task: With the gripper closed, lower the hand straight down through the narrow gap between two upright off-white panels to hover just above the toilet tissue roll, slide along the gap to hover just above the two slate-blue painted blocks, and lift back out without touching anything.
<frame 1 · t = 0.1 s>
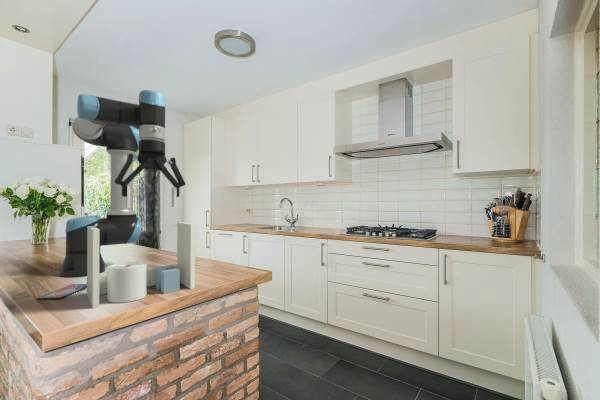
hand: (151, 207, 95), 28 cm above the worktop, tool pointing down, fingers open, 13 cm apart
paddle block a: (165, 287, 103), on the worktop
smartphone: (66, 293, 98), on the worktop
toilet tissue: (127, 297, 93), on the worktop
panel frame: (143, 292, 98), on the worktop
paddle block b: (170, 291, 99), on the worktop
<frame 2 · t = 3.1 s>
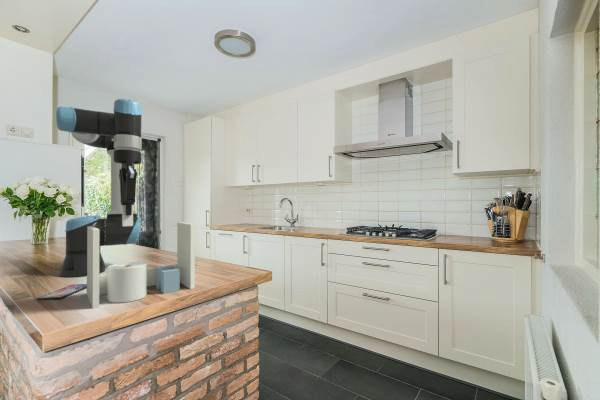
hand: (127, 225, 93), 22 cm above the worktop, tool pointing down, fingers closed
nothing on the worktop moved.
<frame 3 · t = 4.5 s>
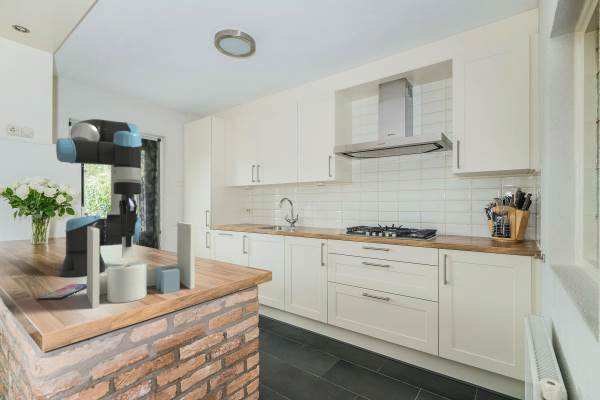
hand: (127, 257, 93), 12 cm above the worktop, tool pointing down, fingers closed
nothing on the worktop moved.
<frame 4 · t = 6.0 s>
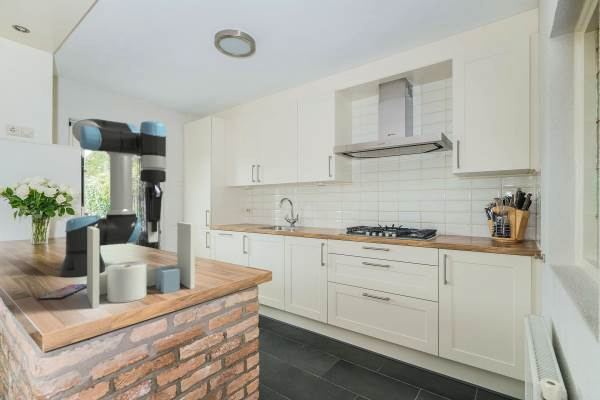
hand: (153, 241, 98), 17 cm above the worktop, tool pointing down, fingers closed
nothing on the worktop moved.
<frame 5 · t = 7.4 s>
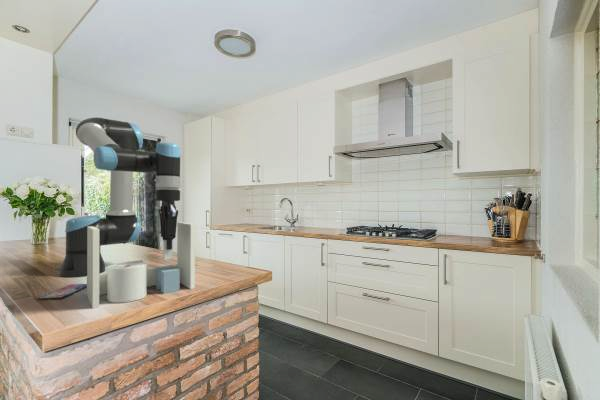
hand: (167, 258, 101), 10 cm above the worktop, tool pointing down, fingers closed
nothing on the worktop moved.
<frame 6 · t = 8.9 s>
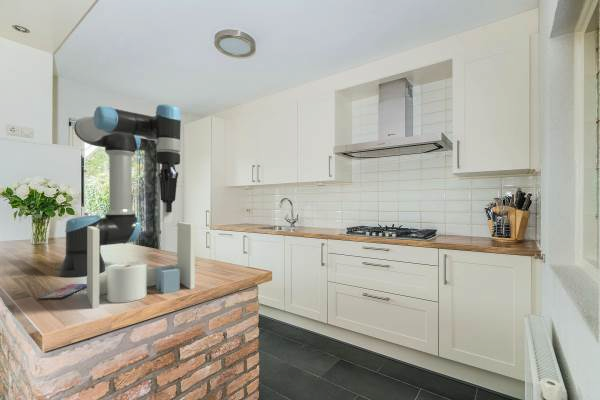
hand: (167, 221, 101), 23 cm above the worktop, tool pointing down, fingers closed
nothing on the worktop moved.
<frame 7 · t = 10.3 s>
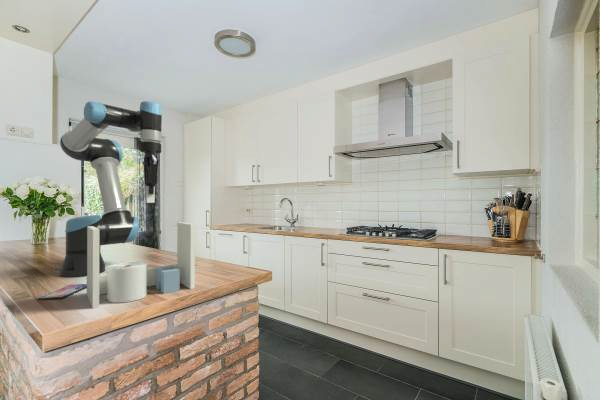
hand: (150, 202, 117), 29 cm above the worktop, tool pointing down, fingers closed
nothing on the worktop moved.
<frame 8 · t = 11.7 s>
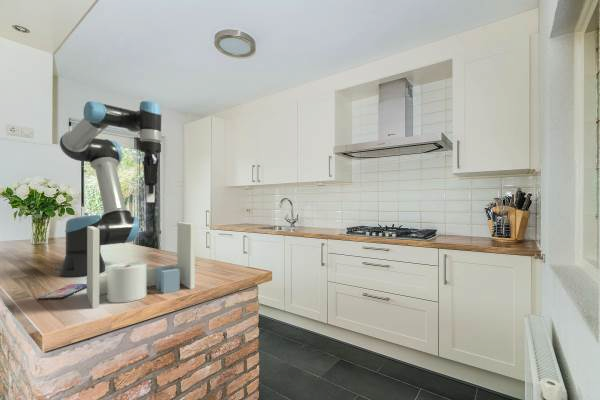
hand: (150, 202, 117), 29 cm above the worktop, tool pointing down, fingers closed
nothing on the worktop moved.
at the end: toilet tissue moved 0.3 cm from its start; paddle block a moved 0.1 cm from its start; paddle block b moved 0.1 cm from its start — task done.
